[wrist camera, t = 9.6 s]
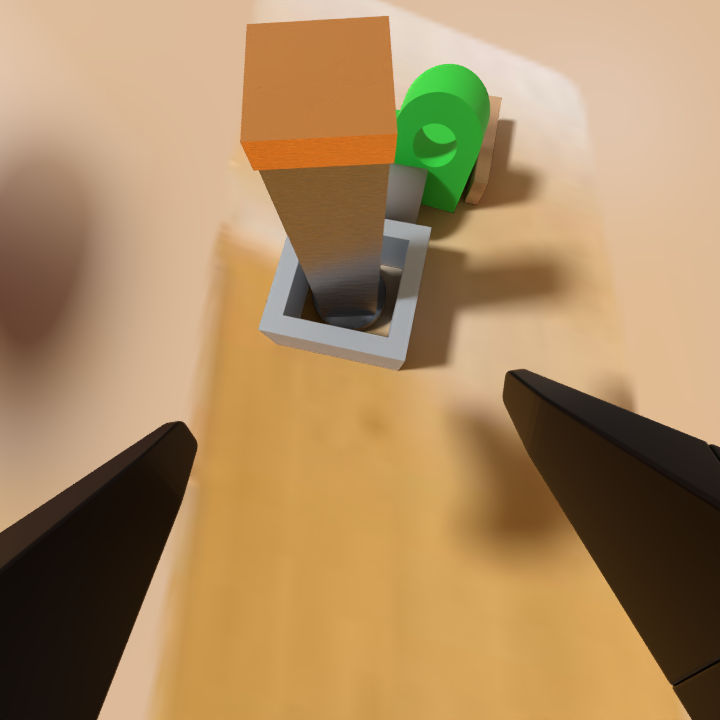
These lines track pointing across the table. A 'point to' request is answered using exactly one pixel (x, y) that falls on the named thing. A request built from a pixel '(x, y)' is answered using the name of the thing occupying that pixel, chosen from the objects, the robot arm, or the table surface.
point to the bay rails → (484, 156)
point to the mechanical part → (443, 130)
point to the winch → (398, 250)
